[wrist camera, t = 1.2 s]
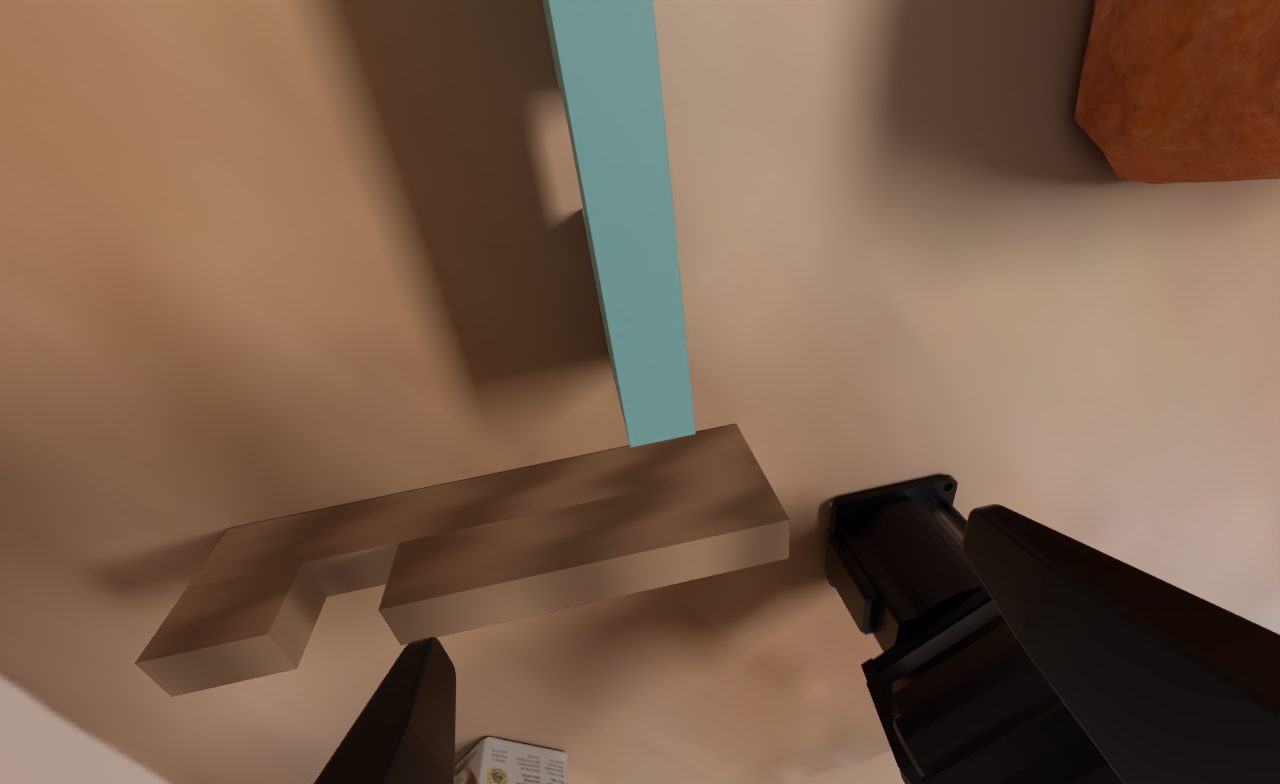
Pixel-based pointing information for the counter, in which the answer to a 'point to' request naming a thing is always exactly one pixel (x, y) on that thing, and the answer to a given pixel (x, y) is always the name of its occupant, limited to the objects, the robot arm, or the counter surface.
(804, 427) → the counter surface
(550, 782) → the coffee box
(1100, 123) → the bread
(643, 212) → the crossbar
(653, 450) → the rail
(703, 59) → the counter surface
